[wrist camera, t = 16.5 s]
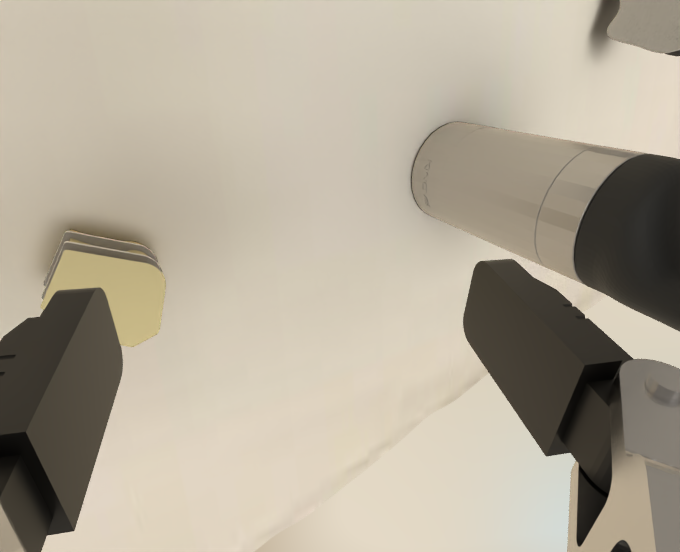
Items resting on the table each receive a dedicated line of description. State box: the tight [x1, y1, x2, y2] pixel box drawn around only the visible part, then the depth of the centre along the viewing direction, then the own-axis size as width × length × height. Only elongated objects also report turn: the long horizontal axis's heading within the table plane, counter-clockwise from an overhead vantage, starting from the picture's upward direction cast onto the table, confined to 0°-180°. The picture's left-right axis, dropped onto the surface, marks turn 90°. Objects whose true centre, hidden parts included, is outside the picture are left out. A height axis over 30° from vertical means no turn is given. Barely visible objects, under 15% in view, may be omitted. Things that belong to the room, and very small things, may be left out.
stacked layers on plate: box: [41, 229, 166, 347], centre depth 30 cm, size 10×9×6 cm
